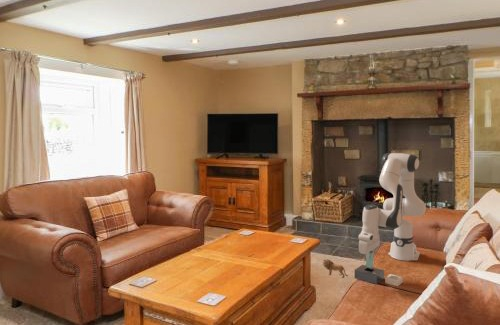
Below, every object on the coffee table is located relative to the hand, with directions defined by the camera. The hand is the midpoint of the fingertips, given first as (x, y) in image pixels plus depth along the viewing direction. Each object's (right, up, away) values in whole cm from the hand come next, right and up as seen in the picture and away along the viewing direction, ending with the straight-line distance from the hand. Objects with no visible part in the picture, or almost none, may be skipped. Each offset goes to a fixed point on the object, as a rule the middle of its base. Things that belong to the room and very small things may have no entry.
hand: (369, 257), depth 222 cm
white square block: (+12, -13, -5) cm, 18 cm away
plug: (0, -5, +1) cm, 5 cm away
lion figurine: (-19, -12, +6) cm, 23 cm away
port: (0, -12, +1) cm, 12 cm away
